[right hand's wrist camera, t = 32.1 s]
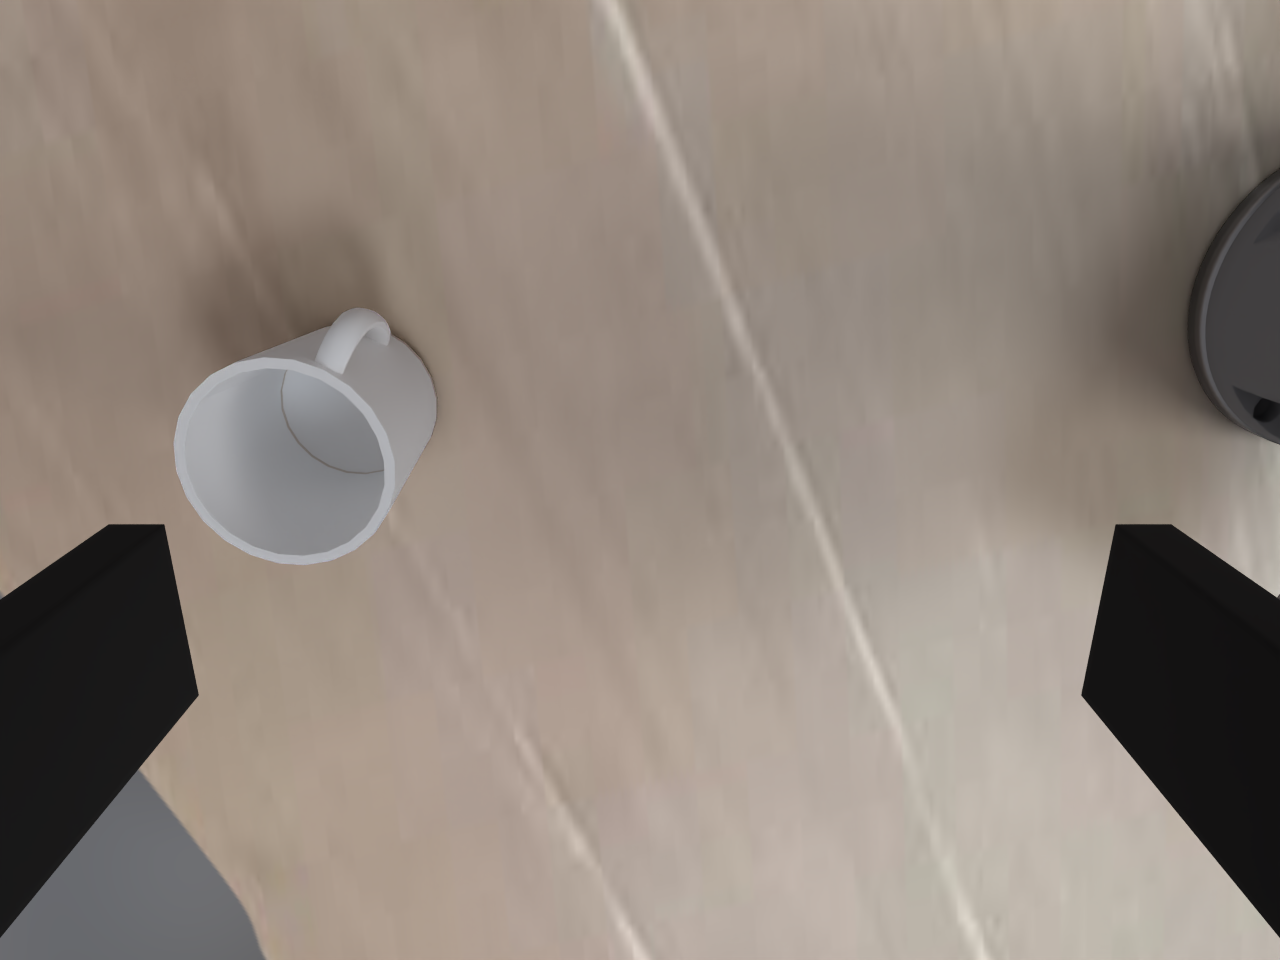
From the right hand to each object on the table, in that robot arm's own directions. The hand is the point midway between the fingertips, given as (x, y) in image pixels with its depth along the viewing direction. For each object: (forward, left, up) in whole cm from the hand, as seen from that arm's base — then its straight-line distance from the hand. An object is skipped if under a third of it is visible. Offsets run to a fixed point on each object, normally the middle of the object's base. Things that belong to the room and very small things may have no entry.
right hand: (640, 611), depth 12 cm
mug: (+4, -14, -33) cm, 36 cm away
